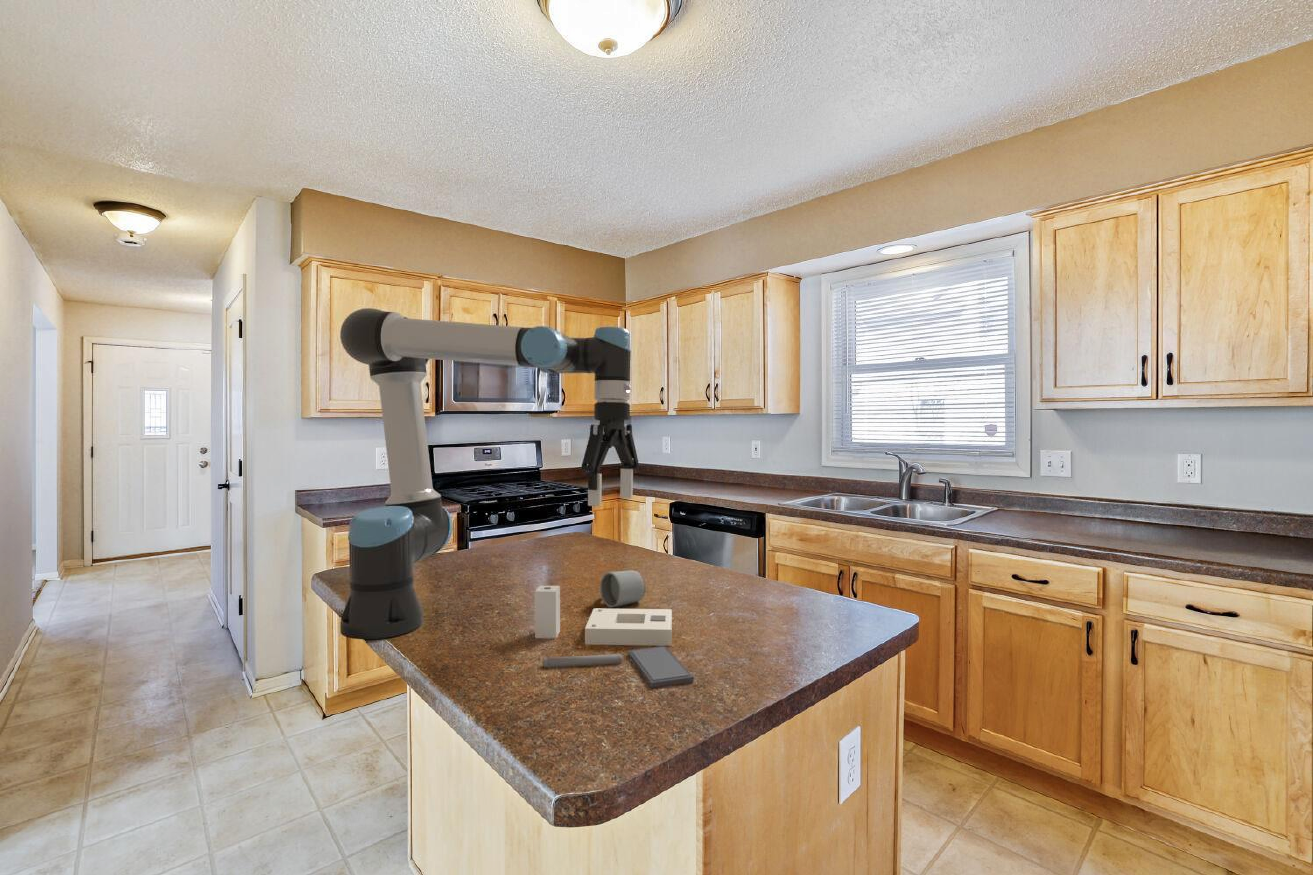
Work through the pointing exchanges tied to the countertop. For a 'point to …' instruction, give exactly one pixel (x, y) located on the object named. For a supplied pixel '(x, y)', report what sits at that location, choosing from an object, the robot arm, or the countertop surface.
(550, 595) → the charger block
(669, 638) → the outlet plate
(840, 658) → the countertop surface
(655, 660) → the phone slab
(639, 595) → the ceramic mug
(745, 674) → the countertop surface
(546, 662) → the grey rod
